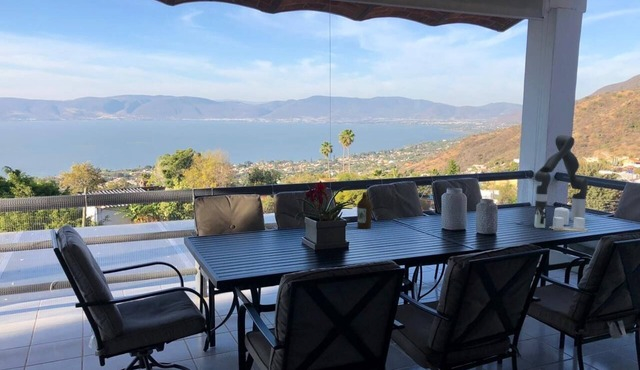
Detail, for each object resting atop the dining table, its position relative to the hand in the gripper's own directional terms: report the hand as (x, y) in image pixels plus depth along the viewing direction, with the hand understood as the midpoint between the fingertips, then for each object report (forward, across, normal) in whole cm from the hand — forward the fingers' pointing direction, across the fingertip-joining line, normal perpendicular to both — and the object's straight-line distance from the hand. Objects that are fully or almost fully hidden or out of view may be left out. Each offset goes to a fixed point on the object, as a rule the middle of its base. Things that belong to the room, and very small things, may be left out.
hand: (539, 222), depth 352 cm
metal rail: (+3, -7, -17) cm, 19 cm away
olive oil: (+4, -16, +125) cm, 126 cm away
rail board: (+3, -7, -17) cm, 19 cm away
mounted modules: (+2, -7, -17) cm, 18 cm away
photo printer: (+3, +13, -20) cm, 24 cm away
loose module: (+3, 0, 0) cm, 3 cm away
